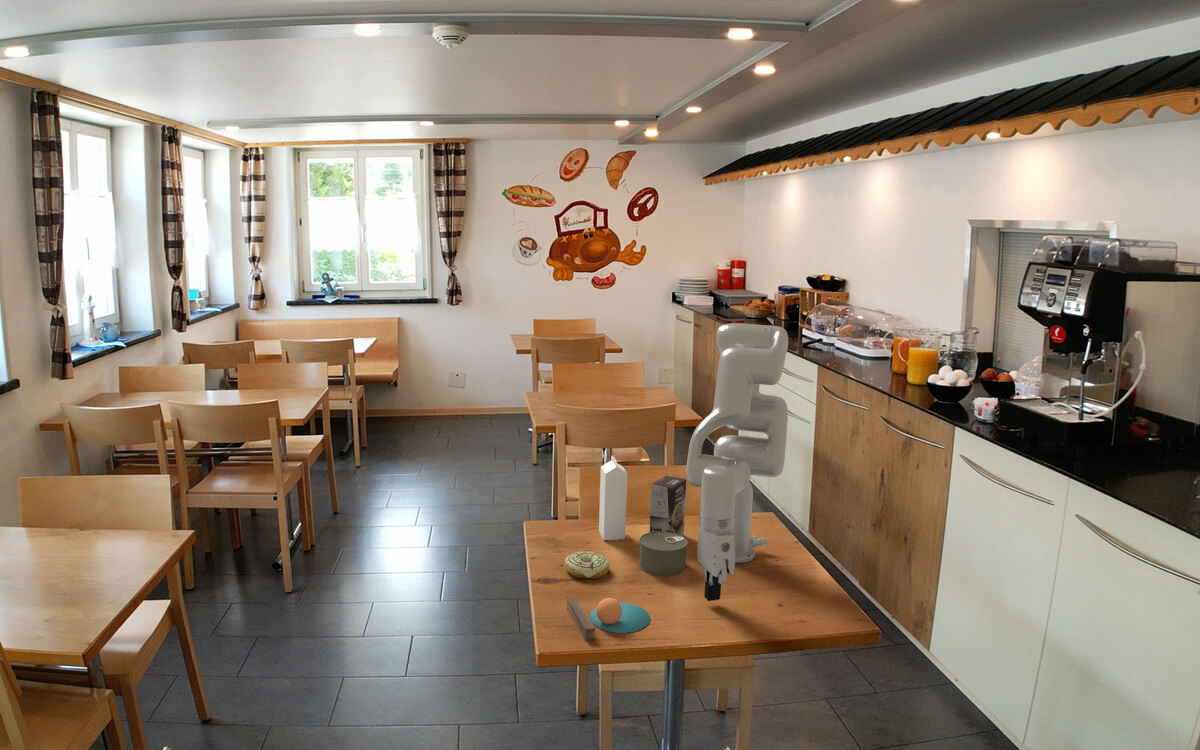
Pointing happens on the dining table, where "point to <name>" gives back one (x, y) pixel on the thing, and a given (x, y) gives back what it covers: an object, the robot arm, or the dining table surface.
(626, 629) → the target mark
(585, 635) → the rail
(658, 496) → the coffee box
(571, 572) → the decorated donut
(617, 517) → the milk
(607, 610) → the ball
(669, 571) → the can
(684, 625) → the dining table surface
